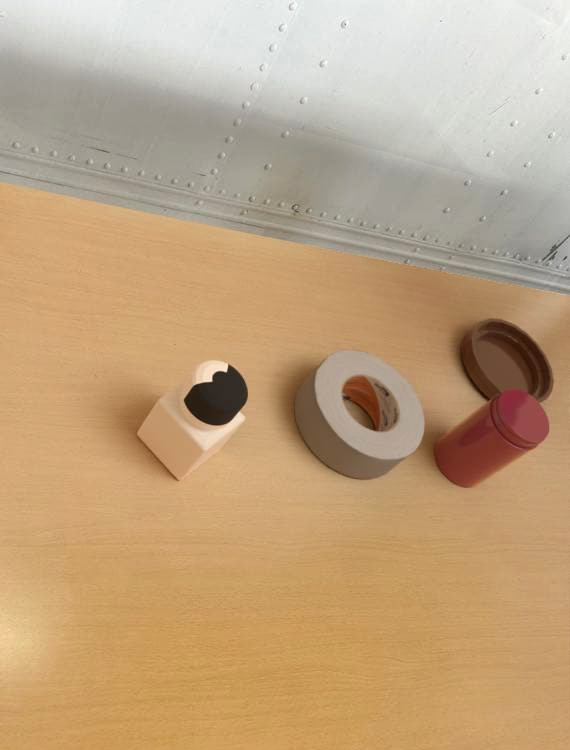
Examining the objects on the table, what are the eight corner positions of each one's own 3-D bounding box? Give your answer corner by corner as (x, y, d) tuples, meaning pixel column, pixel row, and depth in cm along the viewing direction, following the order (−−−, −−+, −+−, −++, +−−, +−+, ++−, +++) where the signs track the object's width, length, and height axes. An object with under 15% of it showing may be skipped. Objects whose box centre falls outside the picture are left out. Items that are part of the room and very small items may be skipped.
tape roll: (270, 400, 94) (291, 376, 90) (346, 355, 102) (368, 331, 98) (350, 500, 92) (375, 481, 88) (420, 447, 100) (447, 427, 96)
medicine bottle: (219, 450, 88) (269, 392, 78) (178, 482, 84) (226, 425, 74) (176, 404, 89) (221, 340, 78) (134, 434, 85) (175, 371, 75)
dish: (544, 363, 117) (558, 353, 115) (533, 430, 110) (547, 421, 108) (468, 313, 115) (480, 301, 113) (451, 377, 108) (464, 367, 106)
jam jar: (487, 454, 104) (555, 408, 95) (478, 498, 100) (547, 455, 91) (440, 424, 103) (503, 375, 94) (428, 467, 99) (493, 420, 90)
